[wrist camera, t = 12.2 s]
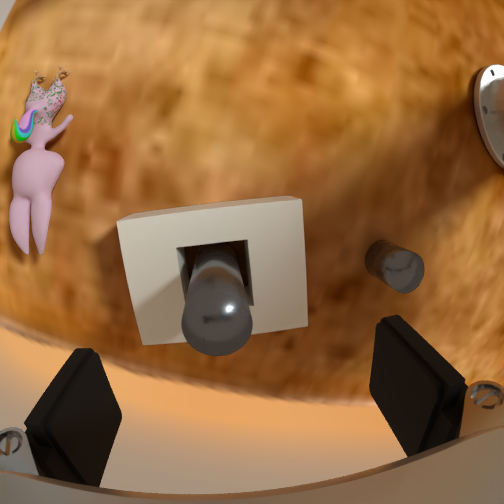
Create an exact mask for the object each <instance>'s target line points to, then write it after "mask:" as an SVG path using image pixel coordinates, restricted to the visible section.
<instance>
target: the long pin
mask: <svg viewBox="0 0 504 504" xmlns="http://www.w3.org/2000/svg"><path fill="white" fill-rule="evenodd" d="M181 327H182V332H183V335H184V337H185V339H186V340H187V342H188V343H189V344H190V345H191V346H192V347H193V348H194V349H196V350H197V351H199V352H201V353H204V354H207V355H212V356H223V355H228V354H231V353H233V352H235V351H237V350H239V349H240V348H241V347H243V346H244V345H245V344H246V342H247V341H248V339H249V338H250V335H251V333H252V328H253V321H252V316H251V312H250V308H249V304H248V301H247V297H246V293H245V289H244V285H243V281H242V277H241V273H240V269H239V265H238V261H237V257H236V254H235V252H234V250H233V249H232V248H231V247H230V246H229V245H228V244H226V243H224V242H220V243H211V244H204V245H203V246H202V247H201V248H200V249H199V251H198V252H197V255H196V259H195V263H194V267H193V271H192V275H191V280H190V284H189V288H188V293H187V297H186V301H185V306H184V310H183V315H182V320H181Z"/></svg>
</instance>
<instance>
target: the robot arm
mask: <svg viewBox="0 0 504 504" xmlns="http://www.w3.org/2000/svg"><path fill="white" fill-rule="evenodd" d="M474 107H475V114H476V119H477V124H478V127H479V130H480V133H481V136H482V139H483V141H484V143H485V146H486V148H487V149H488V151H489V153H490V155H491V156H492V158H493V159H494V160H495V162H496V163H497V164H498V165H499V166H500V167H501V168H503V169H504V66H501V65H498V64H495V65H490V66H486V67H484V68H483V69H482V70H481V71H480V72H479V74H478V75H477V78H476V81H475V87H474ZM464 382H465V378H464V377H463V376H462V375H461V374H460V373H459V372H458V371H457V370H456V369H455V368H454V367H453V366H452V365H451V364H449V363H448V362H447V361H446V360H445V359H444V358H443V357H442V356H441V355H440V354H439V353H438V352H437V351H436V350H435V349H434V348H433V347H432V346H431V345H430V344H429V343H428V342H427V341H426V340H425V339H424V338H423V337H422V336H420V335H419V334H418V333H417V332H416V331H415V330H414V329H413V328H412V327H411V326H410V325H409V324H408V323H407V322H406V321H405V320H403V319H402V318H401V317H400V316H399V315H394V316H389V317H384V318H382V319H381V321H380V323H378V324H377V325H376V332H375V343H374V352H373V361H372V369H371V377H370V384H369V389H370V393H371V395H372V397H373V399H374V400H375V402H376V404H377V405H378V407H379V409H380V411H381V412H382V414H383V415H384V417H385V419H386V421H387V422H388V424H389V426H390V427H391V429H392V431H393V433H394V434H395V436H396V438H397V439H398V441H399V443H400V445H401V446H402V448H403V450H404V452H405V453H406V455H407V458H404V459H401V460H398V461H395V462H392V463H389V464H386V465H383V466H379V467H377V468H373V469H370V470H366V471H363V472H359V473H355V474H351V475H347V476H343V477H339V478H334V479H330V480H326V481H321V482H316V483H310V484H305V485H299V486H293V487H286V488H279V489H272V490H263V491H254V492H242V493H227V494H192V495H191V494H158V493H142V492H132V491H122V490H114V489H107V488H100V487H99V486H100V483H101V479H102V476H103V473H104V470H105V467H106V464H107V461H108V458H109V455H110V452H111V449H112V446H113V443H114V440H115V437H116V434H117V431H118V428H119V426H120V423H121V420H122V413H121V410H120V408H119V405H118V403H117V401H116V398H115V396H114V394H113V391H112V388H111V386H110V383H109V381H108V378H107V376H106V373H105V371H104V368H103V365H102V362H101V360H100V357H99V355H98V353H96V352H94V351H93V349H91V348H77V349H75V350H74V352H73V353H72V354H71V356H70V357H69V358H68V360H67V361H66V362H65V364H64V365H63V367H62V368H61V369H60V371H59V372H58V373H57V375H56V376H55V378H54V379H53V380H52V382H51V383H50V385H49V386H48V388H47V389H46V390H45V392H44V393H43V395H42V396H41V398H40V399H39V401H38V402H37V404H36V405H35V407H34V408H33V410H32V411H31V413H30V414H29V416H28V417H27V419H26V420H25V422H24V424H25V425H26V427H27V430H26V431H25V432H24V431H23V430H22V429H19V428H16V427H10V428H6V429H4V430H1V431H0V504H504V387H502V386H501V385H500V384H498V383H495V382H492V381H478V382H475V383H473V384H471V385H470V386H469V387H468V386H467V385H466V384H465V383H464Z"/></svg>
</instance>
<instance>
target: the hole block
mask: <svg viewBox="0 0 504 504" xmlns="http://www.w3.org/2000/svg"><path fill="white" fill-rule="evenodd" d="M116 222H117V228H118V234H119V240H120V246H121V252H122V257H123V262H124V267H125V272H126V277H127V282H128V287H129V291H130V296H131V300H132V305H133V309H134V313H135V317H136V321H137V325H138V329H139V333H140V337H141V340H142V344H143V345H155V344H168V343H180V342H187V340H186V339H185V337H184V335H183V332H182V327H181V320H182V315H183V310H184V306H185V301H186V297H187V293H188V288H189V284H190V283H189V277H188V270H187V264H186V257H185V250H184V247H186V246H194V245H203V244H211V243H220V242H228V241H237V240H244V247H245V257H246V267H247V276H248V286H244V289H245V293H246V297H247V301H248V304H249V308H250V312H251V316H252V321H253V328H252V333H251V335H252V334H260V333H267V332H274V331H281V330H287V329H294V328H300V327H306V326H308V309H307V281H306V259H305V240H304V224H303V209H302V199H299V198H295V197H292V196H289V195H287V196H276V197H265V198H255V199H245V200H236V201H227V202H218V203H209V204H201V205H193V206H185V207H177V208H170V209H162V210H155V211H148V212H141V213H135V214H131V215H129V216H127V217H124V218H122V219H120V220H118V221H116Z"/></svg>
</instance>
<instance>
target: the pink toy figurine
mask: <svg viewBox="0 0 504 504" xmlns="http://www.w3.org/2000/svg"><path fill="white" fill-rule="evenodd" d="M59 69H60V71H59V73H58V74H57V75H56V76H55V81H54V82H53V84H52V85H51V87H50V88H49V90H48V91H46V90H45V89H43V88H42V87H40V86H39V85H38V84H37V79H38V80H39V79H41V80H44V79H43V78H46V77H47V76H46V77H45V76H44V75H42V74H40V73H37V72H36V70H35V73H36V75H37V76H36V77H35V78H34V79H33V80H32V82H31V91H30V95H29V98H28V99H27V101H26V104H25V112H26V113H25V114H24V115H23V117H22V118H21V120H20V122H19V124H17V121H16V119H15V120H14V122H13V124H12V128H11V139H12V141H14V142H15V143H23V142H27V143H29V144H30V145H31V149H29V150H27V151H25V152H23V153H22V154H21V155H20V156H19V157H18V158H17V159H16V161H15V163H14V166H13V173H12V188H13V193H14V197H13V200H12V202H11V205H10V210H9V222H10V229H11V233H12V236H13V238H14V240H15V242H16V243H17V245H18V246H19V247H20V249H21V250H22V251H23V252H24V253H25V254H27V255H28V254H29V222H30V205H31V222H32V233H33V237H34V240H35V243H36V246H37V249H38V252H39V254H40V255H42V254H43V252H44V249H45V244H46V238H47V232H48V226H49V220H50V216H51V209H52V199H51V192H52V190H53V188H54V186H55V184H56V182H57V180H58V178H59V176H60V173H61V171H62V169H63V167H64V160H63V158H62V157H61V156H60V155H59V154H58V153H56V152H51V151H47V150H45V145H46V143H47V142H48V141H50V140H51V139H53V138H54V137H56V136H57V135H58V134H59V133H61V132H62V131H63V130H64V129H65V128H66V127H67V126H68V125H69V123H70V122H71V121H72V120H73V115H68V116H67V117H66V118H65V120H64V121H63V123H62V124H61V125H59V126H58V127H56V128H54V129H52V120H53V118H54V117H55V115H56V114H57V113H58V111H59V110H60V108H61V107H62V105H63V104H64V102H65V99H66V89H65V87H64V86H63V84H62V82H61V80H60V74H64V75H68V74H66V73H70V72H68V70H65V69H64V68H63V67H61V68H60V65H59Z"/></svg>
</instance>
